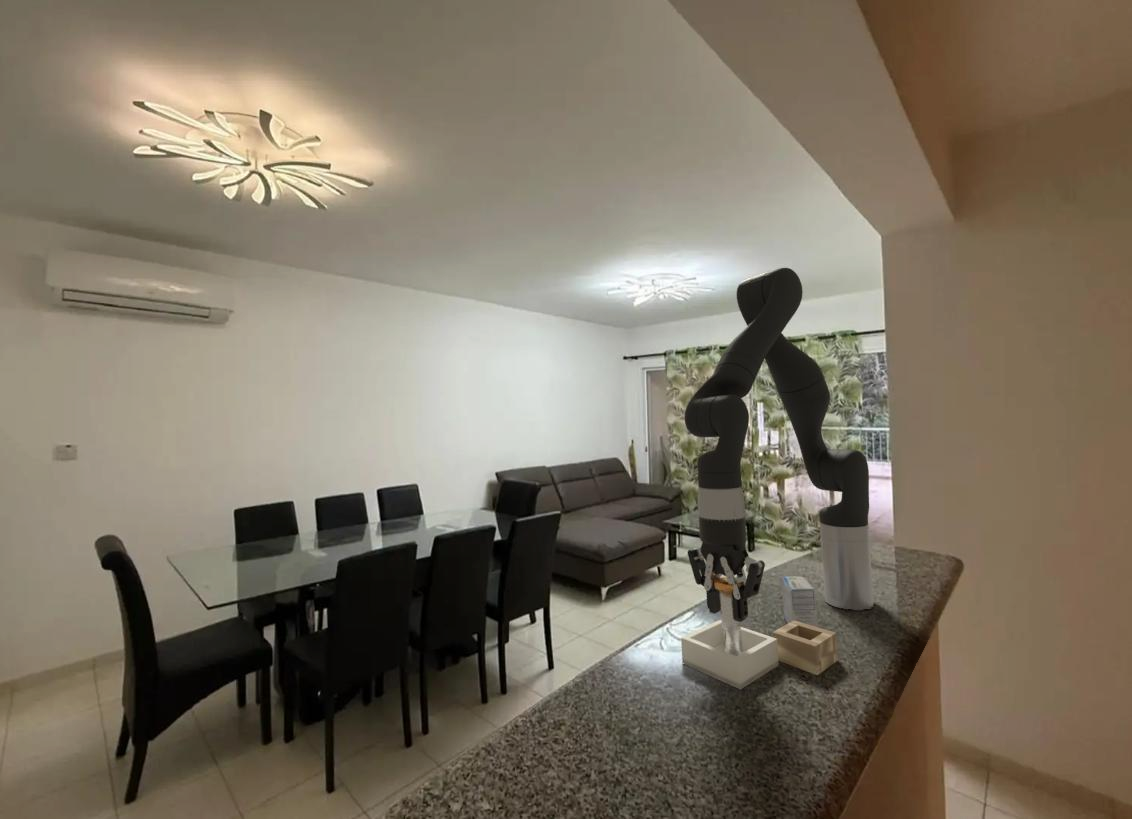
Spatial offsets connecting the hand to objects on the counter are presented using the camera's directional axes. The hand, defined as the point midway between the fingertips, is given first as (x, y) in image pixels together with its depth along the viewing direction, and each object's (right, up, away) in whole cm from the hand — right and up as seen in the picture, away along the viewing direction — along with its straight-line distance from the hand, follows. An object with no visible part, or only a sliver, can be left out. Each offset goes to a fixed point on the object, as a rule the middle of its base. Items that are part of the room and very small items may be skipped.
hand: (727, 615), depth 81 cm
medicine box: (+19, -8, +13) cm, 24 cm away
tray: (0, -8, 0) cm, 8 cm away
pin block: (+13, -7, 0) cm, 15 cm away
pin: (+1, -7, -1) cm, 7 cm away
